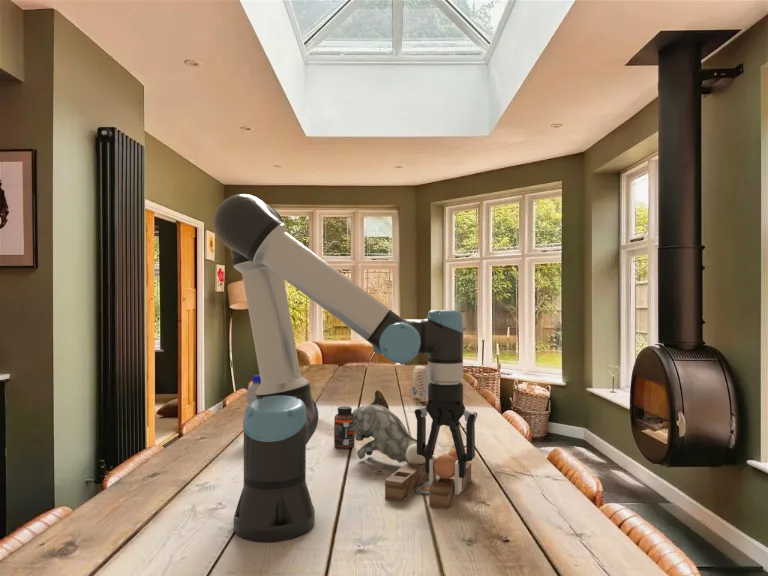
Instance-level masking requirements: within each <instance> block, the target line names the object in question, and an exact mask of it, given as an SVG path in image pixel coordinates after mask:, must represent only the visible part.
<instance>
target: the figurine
mask: <svg viewBox="0 0 768 576" xmlns="http://www.w3.org/2000/svg"><path fill="white" fill-rule="evenodd" d="M351 413H352V422H353V430H354V433H355V440H356V441H358V442H360V441H363V440H364V439H369V438H371V437H372V438H373V439H372V440H371V441H368V442H367V443H365V444H364V445H363V446H361V447H360V448H359V449H358V450H357V457H358V458H359V459H360V460H362V459H364V458H365V457H366V456H371V455H373V451H378V452H380V453H381V454H383V455H386V456H387V457H388V458H389V459H391V460H394V461H397V463H399V464H401V463H403V462H406V463H408V460H407V458H406V451H407V448H408V447H409V446H410V445H412V444H417V438H413V437H412V436H411V435H410V433H409V432H408V430H407V428H406V426H405V425H404V423H403V422H402V420H401V419H400V418H399V417H398V416H397V415H396V414H395V413H394V412H393V411H391V410H390V409H389V410H388V409H387V408H385V407H383V406H381V405H377V404H371V403H370V404H365V405H364V404H363V405H362V406H361V405H360V406H359V407H357V408H355V409H354V410H353V411H352V412H351ZM427 444H428V443H427ZM427 444H426V448H427Z"/></svg>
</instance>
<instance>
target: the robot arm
mask: <svg viewBox="0 0 768 576" xmlns="http://www.w3.org/2000/svg"><path fill="white" fill-rule="evenodd" d="M213 227H214V232H215V234H216V236H217V238H218V239H219V242H221V243H222V244H223V245H224V246H225V247H227V248H228V249H229V250H230V255H231V261H232V266H233V269H235V270H236V271H238V272H239V273H241V275H242V280H243V287H244V291H245V298H246V304H247V309H248V314H249V320H250V327H251V333H252V338H253V343H254V349H255V355H256V362H257V366H258V367H257V368H258V371H259V372H258V373H259V375H260V379H261V385H260V386H259V388H258V389H257V391H256V398H257V400H254V401H253V402H251V403H250V404H249V405H248V404H247V406H246V407H245V410H244V412H243V413H244V415H243V420H242V430H243V488H242V490H241V492H240V493H241V494H240V496H239V498H238V502H237V505H236V508H235V512H234V515H233V531H234V532H235V534H236V535H238V536H239V537H241V538H242V539H246V540H250V541H254V542H277V541H278V542H279V541H284V540H289V539H293V538H296V537H299V536H301V535H304V534H306V533H307V532H309V531H310V530H311V529H312V528H313V527H314V526H315V521H316V520H315V519H316V518H315V517H316V515H315V514H316V512H315V511H316V510H315V507H314V505H313V502H312V498H311V495H310V491H309V488H308V485H307V481H306V474H307V473H306V468H307V467H306V464H307V463H306V462H307V461H306V460H307V459H306V458H307V457H306V454H307V453H306V451H307V445H308V443H309V441H310V440H311V438H312V437H313V436H314V433H315V432H316V430H317V427H318V424H319V410H318V406H317V403H316V401H315V400H314V398H313V396H312V389H311V384H310V381H309V379H306V378H305V377H304V376H302V373H301V369H300V368H301V367H300V364H299V358H298V352H297V346H296V340H295V339H296V338H295V333H294V329H293V323H292V317H291V313H290V306H289V301H288V295H287V290H286V284H285V281H286V282H287V283H288V284H290V285H291V286H293V287H294V288H295V289H296V290H298V291H299V292H301V293H302V294H303V295H305V296H306V297H308V298H309V299H310V300H311V301H313V302H314V303H316V304H317V305H318V306H319V307H321V308H322V309H324V310H325V311H326V312H327V313H329V314H331V316H334V317H335V318H336V319H337V320H339V321H340V322H341V323H343V325H345V326H346V327H348V328H349V329H351V330H352V331H353V332H354V333H356V334H357V335H358V336H360V337H361V338H363V339H364V340H365V341H367V342H368V343H369V344H370V345H372V350H373V353H375V354H376V355H377V354H379V355H383V356H384V358H386V359H387V360H389V361H390V362H393V363H395V364H405V363H407V362H410V361H412V360H413V359H414V358H415V357H416V356H417V355H427V369H428V379H429V380H430V381H431V382H429V383H428V395H427V403H426V405H425V406H423V407H422V406H420V407H417V409H415V410H414V415H415V419H416V440H417V454H418V455H422V456H424V457H425V471H426V473H429V477H428V479H429V486H430V485H431V484H432V483H433V482H434V481H435V480H436V479H437V478H438V475H437V474H436V473H435V470H434V463H435V460H436V459H437V458H438V457H437V456H434V455H435V453H434V452H435V449H436V446H437V445H436V444H437V440H438V438H439V434H440V433H439V432H440V429H441V427H442V426H446V427H449V430H450V433H451V436H452V440H453V446H454V449H456V454H457V458H458V460H457V461H456V462H455V494H457V495H458V494H459V493H460V492H461V491H462V478H464V477H465V476H466V462H467V461H468V462H472V461H473V459H474V458H475V456H476V434H475V433H476V431H475V430H476V426H475V423H476V420H477V417H478V412H476V411H473V412H472V411H470V410H467V409H466V407H465V405H464V384H463V383H462V381H463V380H464V333H465V332H464V326H463V323H464V321H463V314H462V313H461V312H460V311H459V310H457V309H431V310H429V311H428V312H427V317H426V318H421V319H418V318H417V319H413V318H411V319H410V318H409V319H408V318H402V317H400V316H399V315H398V314H397V313H396V312H393V311H392V310H391V309H390V308H388V307H387V306H386V305H385V304H383V303H382V302H381V301H380V300H378V299H377V298H375V297H374V296H372V295H371V294H370V293H368V292H367V291H366V290H364V289H363V288H362V287H361V286H359V285H358V284H356V282H354V281H353V280H351V279H350V278H349V277H347V276H346V275H345V274H343V273H342V272H340V271H339V270H338V269H336V268H335V267H334V266H333V265H331V264H329V262H327V261H326V260H324V259H323V258H322V257H321V256H319V255H318V254H317V253H315V252H314V251H312V250H311V249H310V248H308V247H307V246H306V245H304V244H303V243H302V242H301V241H299V240H298V239H296V238H295V237H294V236H292V235H291V234H289V233H288V230H287V226H286V224H285V221H284V220H283V218H282V216H281V214H280V213H279V212H278V211H277V210H276V209H275V208H274V207H272V206H271V205H268V204H266V203H265V202H264V201H263V200H261V199H259V198H258V197H257V196H254V195H251V194H246V193H242V194H241V193H240V194H235V195H231V196H229V197H227V198H225V199H224V200H223V201H222V202H221V203H220V205H218V206H217V209H216V211H215V213H214V216H213ZM427 415H429V416H430V418H431V419H432V421H431V426H430V433H429V436H428V440H426V437H427V436H426V435H427V429H426V428H427V419H426V417H427ZM463 416H464V421H465V422H466V424H465V427H466V428H465V439H466V441H465V445H466V448H465V445H464V441H463V436H462V432H461V425H460V420H461V418H462V417H463ZM426 442H427V448H426ZM462 492H463V491H462ZM462 492H461V493H462Z"/></svg>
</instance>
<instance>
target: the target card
mask: <svg viewBox="0 0 768 576" xmlns="http://www.w3.org/2000/svg"><path fill="white" fill-rule="evenodd" d="M415 494H421V495H427V496H429V481H427V480H425V481H424V482H423V483H422V484H421V485H420V486H419V487H417V488H416V489H415Z"/></svg>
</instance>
